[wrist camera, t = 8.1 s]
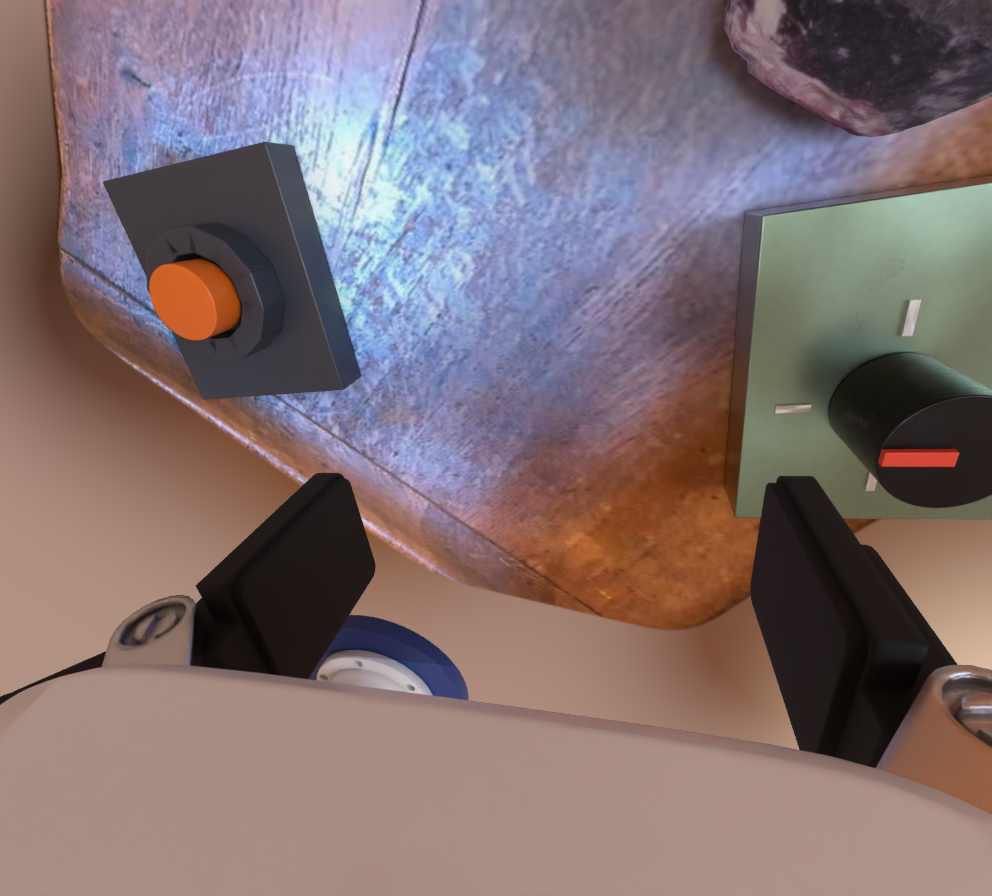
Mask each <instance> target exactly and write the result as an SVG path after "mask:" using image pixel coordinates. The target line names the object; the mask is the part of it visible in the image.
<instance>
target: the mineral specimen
mask: <svg viewBox="0 0 992 896" xmlns="http://www.w3.org/2000/svg"><path fill="white" fill-rule="evenodd" d="M723 25H724V29H725V32H726V33H727V36H728V38H729V40H730V43H731V46H732V49H733V52H735V53H737V54H739V55H740V56H741V57H743V58H744V59H745V60H746V61H747V65H748V73H749V74H751V75H753V76H754V77H756V78H757V79H758V80H759V81H760V82H762V83H763V84H765V85H766V86H767V87H769V88H771V89H773V90H774V91H776V92H777V93H779V94H780V95H782V96H783V97H784V98H786V99H789V100H791V101H793V102H795V103H797V104H799V105H800V106H801V107H803V108H805V109H806V110H807V111H808V112H809V113H811V114H812V115H814V116H816V117H818V118H820V119H823V120H825V121H827V122H829V123H831V124H832V125H834V126H836V127H840V128H842V129H844V130H845V131H847V132H848V133H850V134H853V135H857V136H867V137H875V136H884V135H889V134H893V133H897V132H901V131H903V130H906V129H909V128H911V127H915V126H918V125H922V124H925V123H927V122H930V121H932V120H935V119H937V118H940V117H942V116H945V115H947V114H950V113H952V112H955V111H957V110H960V109H963V108H965V107H968V106H970V105H973V104H975V103H977V102H980V101H982V100H984V99H986V98H988V97H990V96H992V0H728V2H727V5H726V8H725V11H724V18H723Z"/></svg>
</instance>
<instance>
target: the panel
mask: <svg viewBox="0 0 992 896" xmlns="http://www.w3.org/2000/svg"><path fill="white" fill-rule="evenodd" d="M902 353H914V354H922V355H926V356H929V357H932V358H934V359H936V360H938V361H940V362H942V363H944V364H945V365H947V366H949V367H951V368H953V369H955V370H956V371H958V372H960V373H962V374H964V375H966V376H967V377H969V378H971V379H973V380H975V381H977V382H978V383H980V384H982V385H984V386H986V387H988V388H989V389H991V390H992V175H989V176H982V177H976V178H969V179H962V180H955V181H949V182H942V183H935V184H928V185H922V186H915V187H908V188H901V189H895V190H888V191H881V192H875V193H868V194H861V195H854V196H848V197H841V198H834V199H827V200H821V201H814V202H807V203H800V204H794V205H787V206H780V207H773V208H767V209H760V210H753V211H747V212H745V217H744V230H743V243H742V257H741V270H740V283H739V296H738V310H737V323H736V336H735V350H734V363H733V376H732V389H731V403H730V416H729V429H728V442H727V456H726V469H725V482H724V487H725V490H726V492H727V495H728V498H729V501H730V504H731V507H732V510H733V513H734V515H735V517H736V518H761V514H762V507H763V501H764V494H765V488H766V485H767V484H768V483H776V480H777V478H778V477H779V476H813V477H814V478H815V479H816V480H817V481H818V483H819V484H820V486H821V487H822V489H823V490H824V492H825V493H826V494H827V496H828V497H829V499H830V500H831V502H832V503H833V505H834V506H835V508H836V509H837V511H838V512H839V513H840V515H841V516H842V518H843V519H951V520H952V519H954V520H956V519H957V520H958V519H959V520H992V495H991V496H989V497H987V498H984V499H982V500H979V501H976V502H973V503H970V504H966V505H962V506H956V507H949V508H925V507H919V506H914V505H911V504H907V503H905V502H902V501H900V500H898V499H896V498H895V497H893V496H892V495H890V494H889V493H888V492H887V491H886V490H885V489H884V488H883V487H882V486H881V485H880V483H879V482H878V481H877V480H876V479H875V478H874V477H873V475H872V474H871V473H870V472H869V471H868V470H867V469H866V467H865V466H864V465H863V464H862V463H861V462H860V461H859V459H858V458H857V457H856V456H855V455H854V454H853V453H852V451H851V450H850V449H849V448H848V447H847V446H846V445H845V443H844V442H843V441H842V440H841V439H840V438H839V436H838V435H837V434H836V433H835V431H834V430H833V428H832V425H831V423H830V418H829V410H830V404H831V401H832V398H833V396H834V394H835V392H836V390H837V389H838V387H839V386H840V385H841V383H842V382H843V381H844V380H845V379H846V378H847V377H848V376H849V375H850V374H851V373H853V372H854V371H855V370H857V369H858V368H860V367H861V366H863V365H865V364H867V363H869V362H871V361H873V360H876V359H878V358H881V357H885V356H889V355H894V354H902Z"/></svg>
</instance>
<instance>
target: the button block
mask: <svg viewBox="0 0 992 896" xmlns="http://www.w3.org/2000/svg"><path fill="white" fill-rule="evenodd" d="M103 183H104V186H105V188H106V190H107V192H108V194H109V196H110V199H111V201H112V203H113V205H114V207H115V209H116V212H117V214H118V216H119V218H120V220H121V222H122V225H123V227H124V229H125V231H126V233H127V235H128V238H129V240H130V242H131V244H132V246H133V248H134V251H135V253H136V255H137V257H138V259H139V261H140V264H141V266H142V268H143V270H144V272H145V274H146V277H147V289H148V291H149V283H150V278H151V276H152V274H153V272H154V271H155V270H156V269H157V268H158V267H159V266H161V265H164V264H169V263H175V262H181V261H187V260H192V259H202V260H206V261H209V262H211V263H213V264H215V265H216V266H218V267H219V268H221V269H222V270H223V271H224V272H225V273H226V274H227V275H228V276H229V278H230V279H231V280H232V282H233V284H234V285H235V288H236V290H237V293H238V295H239V298H240V302H241V315H240V318H239V321H238V323H237V324H236V325H235V326H234V327H233V328H232V329H230V330H228V331H225V332H223V333H220V334H217V335H214V336H212V337H209V338H206V339H204V340H190V339H186V338H184V337H181V336H179V335H178V334H176V333H175V332H173V331H172V330H171V329H170V328H169V327H168V326H167V325H166V324H165V323H164V322H163V323H164V324H165V325H166V326H167V327H168V328H169V329H170V330H171V331H172V333H173V335H174V337H175V339H176V342H177V344H178V346H179V348H180V350H181V352H182V355H183V357H184V359H185V361H186V363H187V365H188V368H189V370H190V372H191V374H192V376H193V378H194V381H195V383H196V385H197V387H198V389H199V391H200V393H201V396H202V398H203V399H204V400H206V399H220V398H234V397H248V396H262V395H276V394H290V393H304V392H318V391H332V390H343V389H345V388H346V387H348V386H349V385H350V384H352V383H353V382H354V381H356V380H357V379H359V378H360V377H361V374H360V371H359V368H358V364H357V361H356V357H355V354H354V351H353V347H352V344H351V340H350V337H349V334H348V330H347V327H346V323H345V320H344V317H343V313H342V310H341V306H340V303H339V300H338V296H337V293H336V289H335V286H334V283H333V279H332V276H331V272H330V269H329V266H328V262H327V259H326V255H325V252H324V249H323V245H322V242H321V238H320V235H319V232H318V228H317V225H316V221H315V218H314V215H313V211H312V208H311V204H310V201H309V198H308V194H307V191H306V187H305V184H304V181H303V177H302V174H301V171H300V167H299V164H298V160H297V157H296V154H295V150H294V147H293V146H292V145H285V144H277V143H269V142H263V143H259V144H254V145H250V146H246V147H242V148H238V149H234V150H230V151H226V152H222V153H218V154H214V155H209V156H205V157H201V158H197V159H193V160H189V161H185V162H181V163H177V164H173V165H169V166H165V167H160V168H156V169H152V170H148V171H144V172H140V173H136V174H132V175H128V176H124V177H120V178H116V179H111V180H107V181H104V182H103ZM149 294H150V291H149Z"/></svg>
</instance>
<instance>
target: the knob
mask: <svg viewBox="0 0 992 896" xmlns="http://www.w3.org/2000/svg"><path fill="white" fill-rule="evenodd" d="M829 418H830V423H831V425H832V428H833V430H834V431H835V433H836V434H837V435H838V436H839V438H840V439H841V440H842V441H843V442H844V443H845V445H846V446H847V447H848V448H849V449H850V450H851V451H852V453H853V454H854V455H855V456H856V457H857V458H858V459H859V461H860V462H861V463H862V464H863V465H864V466H865V467H866V469H867V470H868V471H869V472H870V473H871V474H872V475H873V477H874V478H875V479H876V480H877V481H878V482H879V483H880V485H881V486H882V487H883V488H884V489H885V490H886V491H887V492H888V493H889V494H890V495H892V496H893V497H895V498H896V499H898V500H900V501H902V502H905V503H907V504H911V505H914V506H919V507H925V508H949V507H956V506H962V505H966V504H970V503H973V502H976V501H979V500H982V499H984V498H987V497H989V496H991V495H992V390H991V389H989V388H988V387H986V386H984V385H982V384H980V383H978V382H977V381H975V380H973V379H971V378H969V377H967V376H966V375H964V374H962V373H960V372H958V371H956V370H955V369H953V368H951V367H949V366H947V365H945V364H944V363H942V362H940V361H938V360H936V359H934V358H932V357H929V356H926V355H922V354H914V353H902V354H894V355H889V356H885V357H881V358H878V359H876V360H873V361H871V362H869V363H867V364H865V365H863V366H861V367H860V368H858V369H857V370H855V371H854V372H853V373H851V374H850V375H849V376H848V377H847V378H846V379H845V380H844V381H843V382H842V383H841V385H840V386H839V387H838V389H837V390H836V392H835V394H834V396H833V398H832V401H831V404H830V410H829Z"/></svg>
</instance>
